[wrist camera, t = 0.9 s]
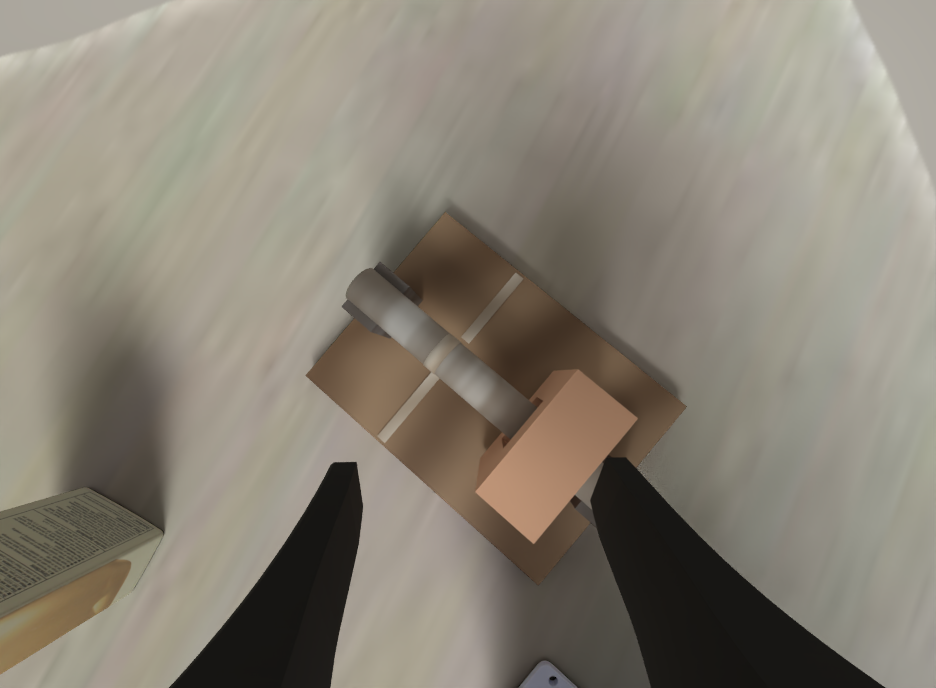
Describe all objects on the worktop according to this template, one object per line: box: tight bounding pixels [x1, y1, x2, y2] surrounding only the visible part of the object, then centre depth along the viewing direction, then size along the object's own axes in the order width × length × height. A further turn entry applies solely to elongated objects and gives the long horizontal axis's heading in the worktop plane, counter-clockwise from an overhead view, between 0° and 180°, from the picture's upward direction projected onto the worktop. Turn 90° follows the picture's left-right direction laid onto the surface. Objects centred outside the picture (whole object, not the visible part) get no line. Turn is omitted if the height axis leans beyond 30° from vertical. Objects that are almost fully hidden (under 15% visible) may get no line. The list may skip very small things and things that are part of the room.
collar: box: [475, 369, 638, 544], centre depth 19 cm, size 3×6×6 cm, turn 140°
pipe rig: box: [306, 212, 687, 585], centre depth 21 cm, size 18×13×6 cm
